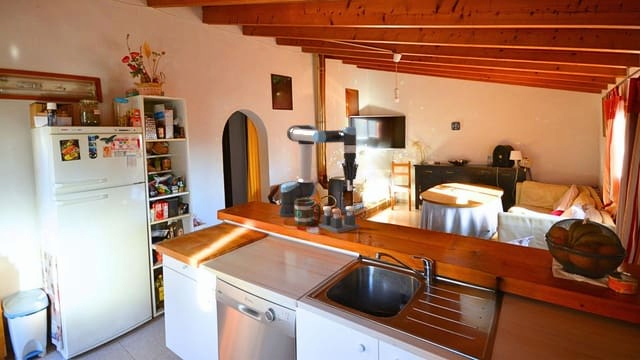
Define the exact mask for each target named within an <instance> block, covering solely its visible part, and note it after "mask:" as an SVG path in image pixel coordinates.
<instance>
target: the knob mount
mask: <svg viewBox="0 0 640 360" xmlns="http://www.w3.org/2000/svg"><path fill="white" fill-rule="evenodd" d="M318 228H321V229H324V230H327V231H330V232H333V233H335V234H340V233H343V232H347V231H351V230H356V229H359V228H360V225H359V223H356V214H353V215H351V216H349V215H347V213H346V214H343V217H340V216H339V218H334V214H330V215H328V216H326V215H324V214H321V222H320V223H318Z"/></svg>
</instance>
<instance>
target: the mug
mask: <svg viewBox="0 0 640 360" xmlns="http://www.w3.org/2000/svg"><path fill="white" fill-rule="evenodd" d="M294 205H295V210H294V215H295V216H294V223H295V224H294V225H296V224H297V226H302V227H303V226H304V227H305V226H313V225H314V224H315V223H318V222H320V220H321V205H320V204H318V203H316V204H315V200H314V199H311V198H305V199H297V200H295V201H294ZM315 207H317V219H315Z"/></svg>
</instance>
